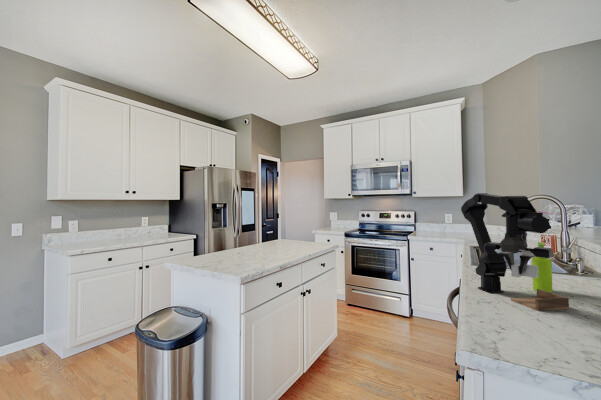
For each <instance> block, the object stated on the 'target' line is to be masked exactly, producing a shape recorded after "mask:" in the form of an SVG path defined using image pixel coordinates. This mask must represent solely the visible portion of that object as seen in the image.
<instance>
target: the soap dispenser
mask: <svg viewBox="0 0 601 400" xmlns="http://www.w3.org/2000/svg"><path fill="white" fill-rule="evenodd" d="M537 247H545V242H544V241H543V242H542V241H541V242H540V241H538V242H537ZM531 261H532V262H531V265H534V266H538V278H532V290H533V291H535V292H537V289H540V290H544V291H547V292H550V293H553V271H552V270H553V267H552V265H553V264H552V259H550V258H542V257H536V256H535V257H533V258H531Z"/></svg>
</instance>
